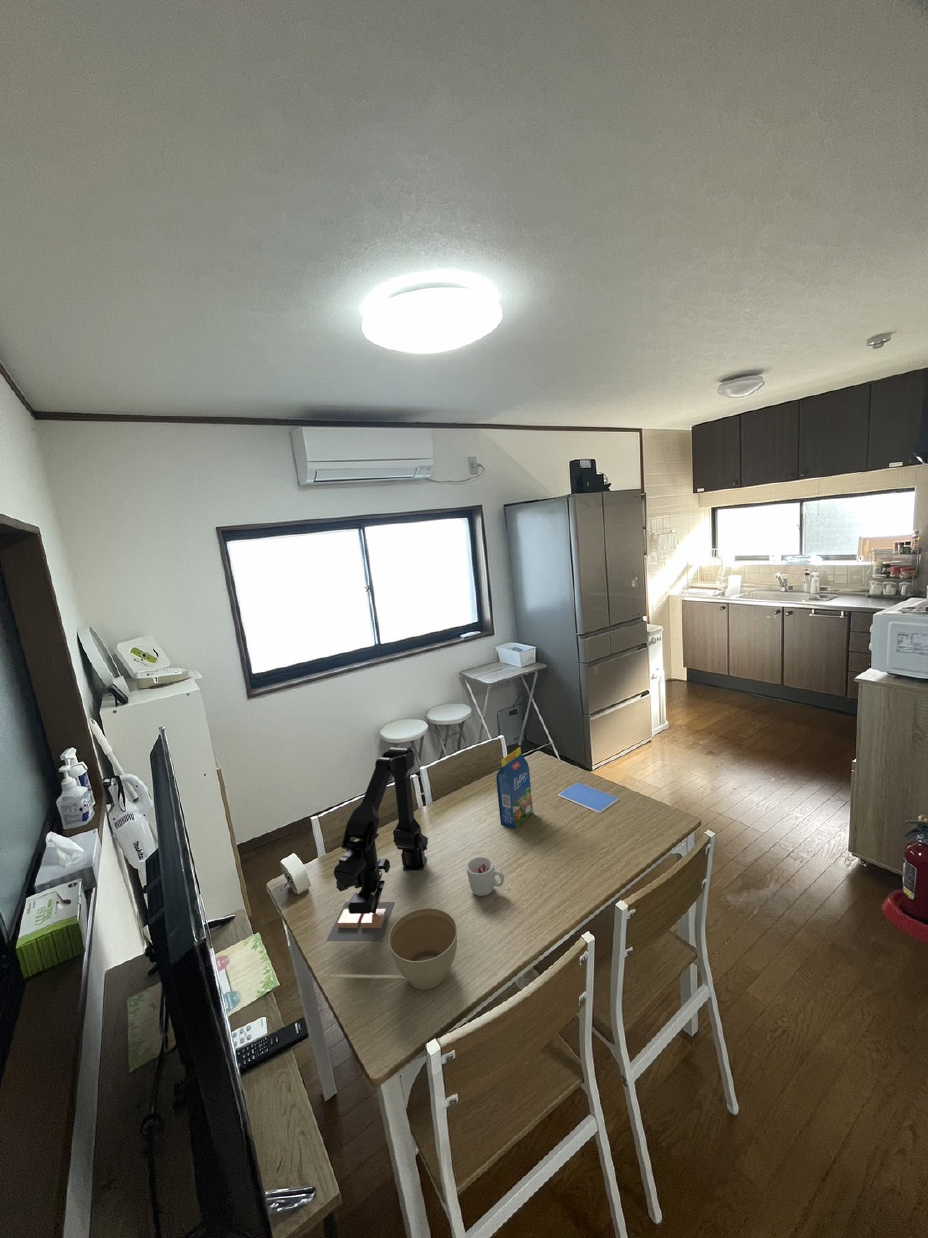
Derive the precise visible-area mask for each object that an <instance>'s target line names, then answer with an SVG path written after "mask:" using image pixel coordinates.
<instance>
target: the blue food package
mask: <svg viewBox="0 0 928 1238" xmlns="http://www.w3.org/2000/svg"><path fill="white" fill-rule="evenodd" d="M521 751H522V750H521V746H519V747H518V748H517V749H515V750H514V751H512V752H511V753H509V754H507V755H506V756H505V757H503V758H502V759H501V760H500V761H501V767H500V769H499V770H498V771H497V773H496V777H495V779H496V790H497V799H498V800H497V801H498V810H499V818H500V819H499V822H500V825H502V826H505V827H507V828H510V829H514V830H515V829H516V828H518V827H520V825H521V824H522V823H524V821H526V820H527V819H528V818H530V816H531V815H532V814H533V812H534V810H533V809H534V808H533V800H532V787H531V786H532V785H531V776H530V775H531V774H530V766H529V764H528V761H527V759H526V758H525V757H524V756H523V755H522V752H521Z"/></svg>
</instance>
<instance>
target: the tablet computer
mask: <svg viewBox="0 0 928 1238" xmlns="http://www.w3.org/2000/svg"><path fill="white" fill-rule="evenodd" d="M558 797H560V798H561V799H562V798H563V799H565V800H567V801H570V802H572V803H574V804H576V805H579V806H581V807H584V808H586V809H588V810H591V811H593V812H595V813H596V814H602V813H603V812H605V811H606V810H607V809H609V808H610V807H612V806H613V805H615V804H616V803H618V802H619V800H620V799H619V797H618V796H617V797H616V796H614V795H612V794H609V793H606V792H604V791H601V790H598V789H595V788H593V787H590V786H588V785H586V784H585V785H584V784H583V783H580V782H576V783H574V784H573V785H571V786H569V787H568V788H565V790H563V791H561V792H559V793H558Z"/></svg>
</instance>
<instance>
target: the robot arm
mask: <svg viewBox="0 0 928 1238" xmlns="http://www.w3.org/2000/svg"><path fill="white" fill-rule="evenodd" d="M415 760H416V759H415V752H414V750H413V749H412V748H411V747H398V746H397V747H396V746H392V747H390V748H389V749H388V750H386V751H384V752H382V753H381V756H380V757H378V758H376V760H375V763H374V764H375V767H374V770H373V772H372V775H371V778H370V781H369V783H368V785H367V788H366V790H365V793H364V795H363V797H362V801H361V803H360V804H359V805H358V806H357V807H356V808H355V809H354V810H353V811H352V813H351V815H350V816H349V819H348V821H347V822H346V825H345V830H344V835H343V840H342V844H341V849H343V850H346V853H344V855H343V856H341V857H340V858H339V859H338V863H337V865H336V866H334V870H333V876H334V878H335V880H336V882H335V884H336V887H335V888H336V889H337V890H338V891H339V892H343V891H346V890H349V888H351V887H354V888H355V889H360V891H359V892H355V893H354V894H353V895H352V896H351V897H350V900H349V901H348V902H349V904H348V911H349V913H350V914H369V913H371V912H372V913H376V911H377V908H378V904H379V902H380V899H381V896H382V893H383V889H384V886H385V883H386V882H385V880H382V877H383V871H382V870H384V873H386V874H388V873H389V871H390V870H391V869H390V868H391V862H390V860H388V859H387V858H384V857H383V858H380V857H378V853H377V846H376V845H377V844H376V839H377V838H378V837H379V833H377V832H378V827H379V824H380V823H379V822H380V816H379V809H380V807H381V806H380V805H381V803H382V800H383V798H384V795H385V792H386V790H387V788H388V787H387V786H388V784H389V782H390V779H391V776H392V777H393V779H394V780H393V781H394V790H395V791H394V792H395V799H396V800H395V802H396V810H397V821H398V822H397V825H396V827H395V829H393V832H392V835H393V843H394V845H395V846H396V849H397V850H400V851H401V853H400V856H401V862H402V863H401V864H402V866H403V869H402V870H403V871H406V872H407V871H409V872H410V871H424V867H425V866H426V862H427V859H428V857H427V856H425V855H426V854H425V851H426V850H427V849H428V847H427V846H428V844H429V838H428V837H427V836H425V835H424V834H423V833H422V827H421V825H420V824H419V823H418V821H417V820H416V818H415V813H414V812H415V811H414V803H413V802H414V801H413V791H412V782H411V773H412V770H413V769H414V766H415ZM352 839H357V841H354V840H352Z"/></svg>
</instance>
